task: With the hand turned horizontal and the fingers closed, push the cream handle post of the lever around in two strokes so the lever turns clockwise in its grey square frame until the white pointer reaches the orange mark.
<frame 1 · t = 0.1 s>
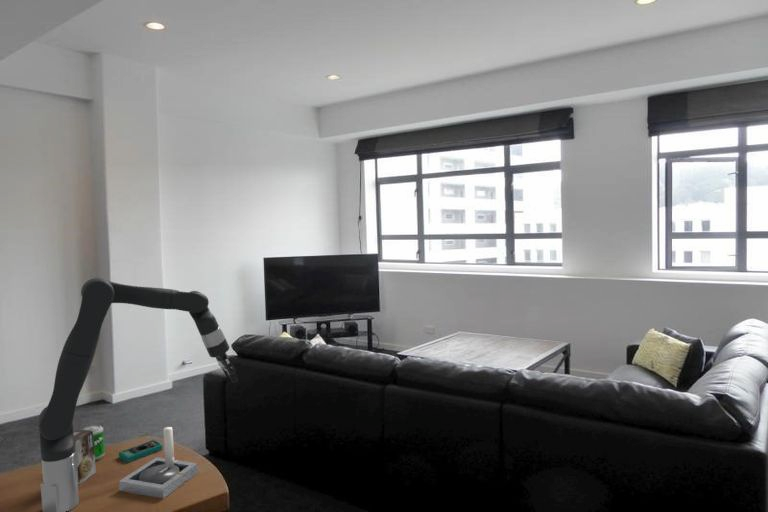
hand: (232, 378, 201), 31 cm above the table, tool tilted 20°, fingers open, 8 cm apart
grey square frame: (160, 481, 188), on the table
soda can: (94, 458, 207), on the table
lever: (158, 456, 187), point 9 cm above the table, hinge at 0.0°
coffee box: (79, 478, 192), on the table
digital multimeter: (141, 455, 210), on the table
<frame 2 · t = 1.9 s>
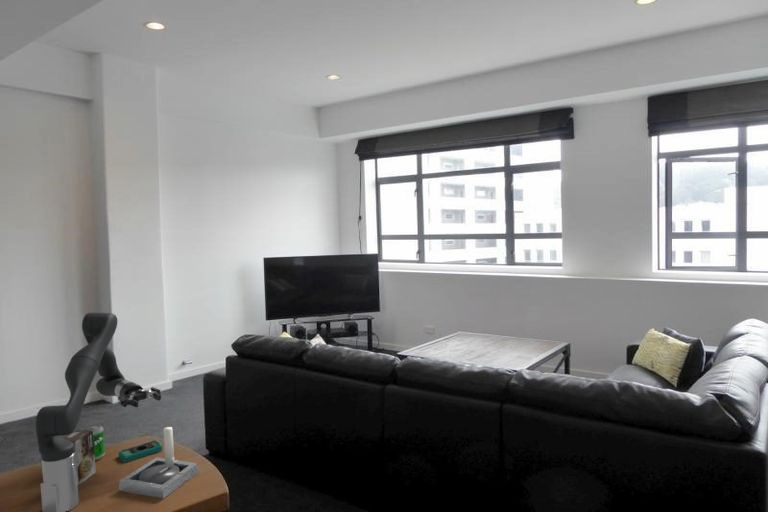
hand: (148, 401, 199), 24 cm above the table, tool horizontal, fingers open, 8 cm apart
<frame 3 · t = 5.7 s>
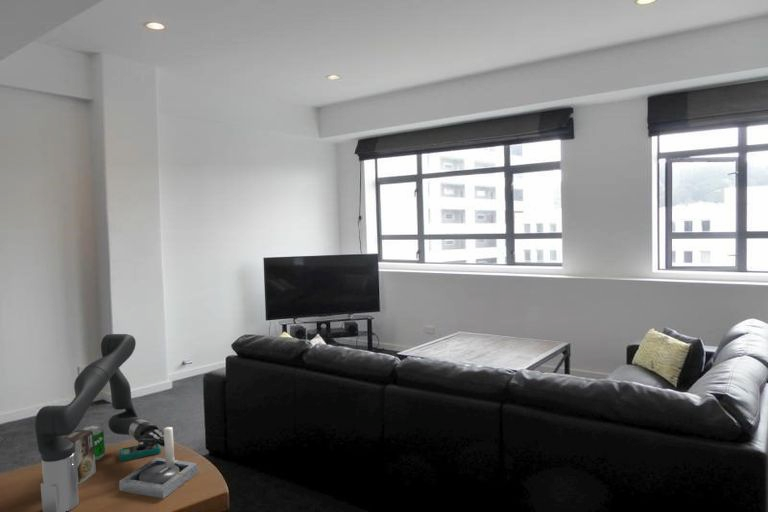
hand: (167, 443, 193), 11 cm above the table, tool horizontal, fingers closed
lever: (158, 456, 187), point 9 cm above the table, hinge at 1.3°, touching gripper
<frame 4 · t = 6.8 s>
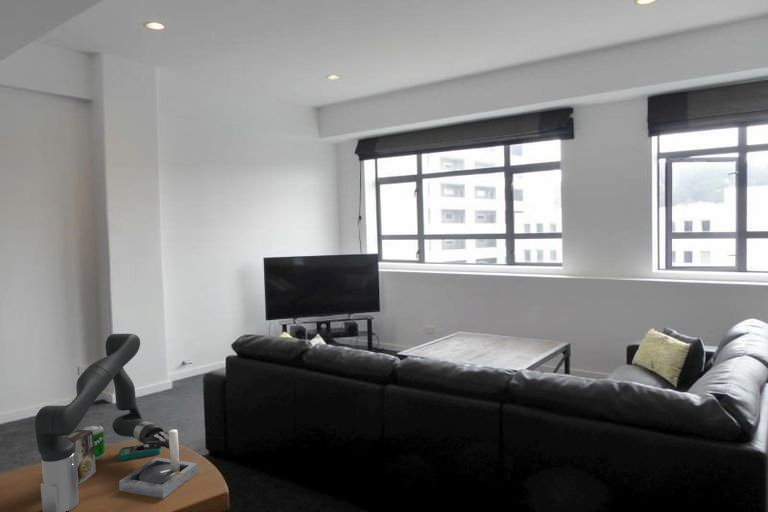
hand: (172, 445, 191), 11 cm above the table, tool horizontal, fingers closed
lever: (158, 456, 187), point 9 cm above the table, hinge at 40.3°, touching gripper
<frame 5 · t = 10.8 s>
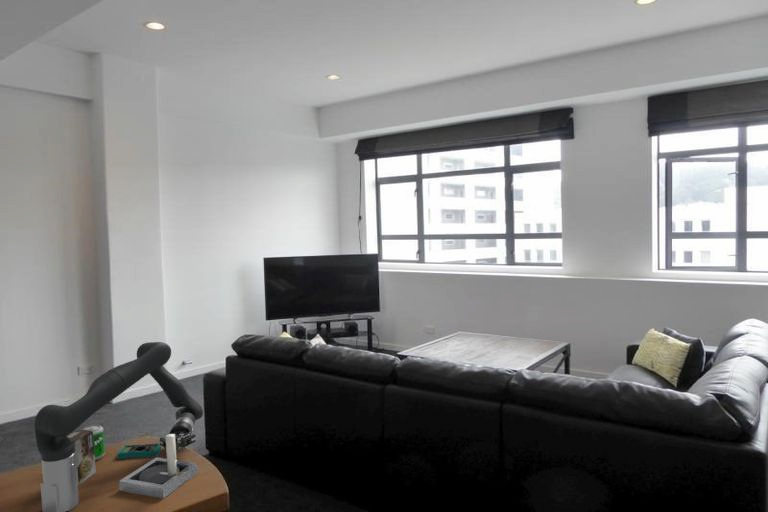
hand: (173, 450, 187), 11 cm above the table, tool horizontal, fingers closed
lever: (158, 457, 187), point 9 cm above the table, hinge at 84.2°, touching gripper
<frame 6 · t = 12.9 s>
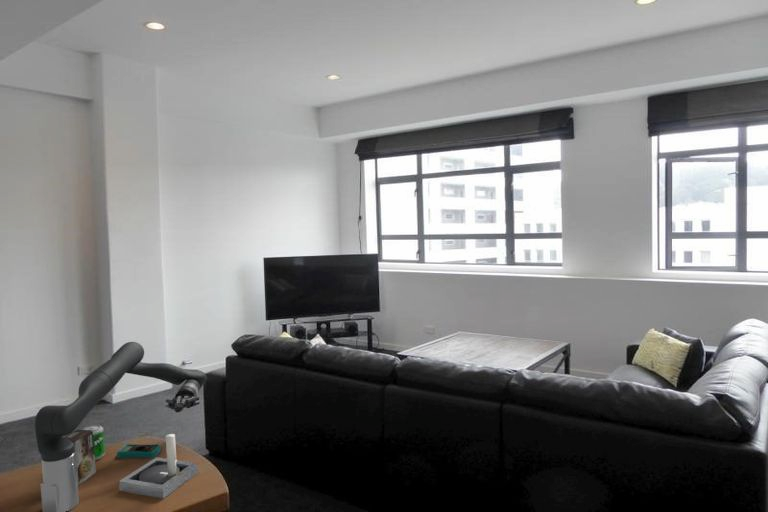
hand: (177, 409, 198), 21 cm above the table, tool horizontal, fingers closed
lever: (158, 457, 187), point 9 cm above the table, hinge at 84.2°
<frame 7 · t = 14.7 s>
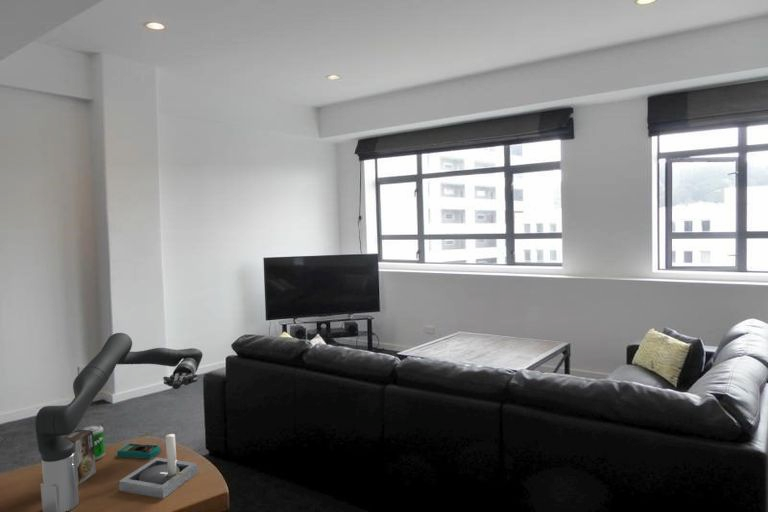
hand: (175, 386, 197), 30 cm above the table, tool horizontal, fingers closed
at the end: lever at +84° (first picture: +0°) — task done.
